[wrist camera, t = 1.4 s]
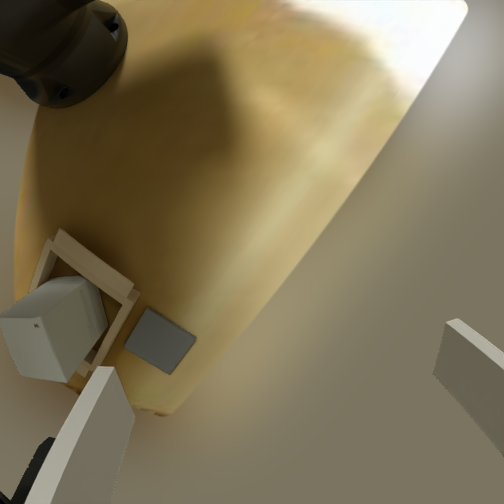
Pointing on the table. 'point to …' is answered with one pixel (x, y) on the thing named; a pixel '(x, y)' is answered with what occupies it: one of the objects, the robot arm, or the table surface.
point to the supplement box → (54, 328)
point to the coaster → (159, 341)
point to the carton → (97, 275)
